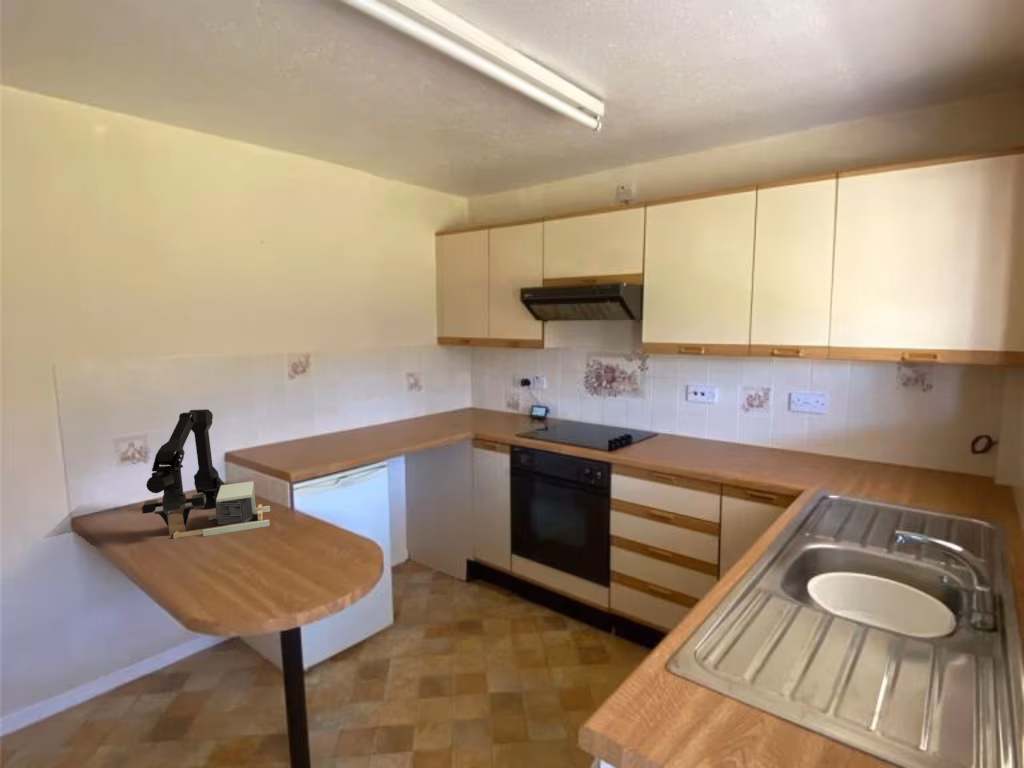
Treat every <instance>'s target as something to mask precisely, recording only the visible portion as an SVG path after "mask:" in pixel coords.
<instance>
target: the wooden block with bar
mask: <svg viewBox="0 0 1024 768" xmlns="http://www.w3.org/2000/svg"><path fill="white" fill-rule="evenodd" d="M257 507H258V513H257V520H253V521H251V522H257V521H263V517H264V516H263V515H264V512H263V511H262V507H263V504H262V503H260V504H257ZM244 523H250V522H244ZM244 523H238V524H244ZM168 525H169V528H168V533H169V536H173V537H172V538H173V539H178V538H185V537H191V536H196V535H197V536H198V535H203V530H205V529H211V528H218V527H224V526H213V527H206V528H201V529H200V528H199V529H193V530H187V525H186V526H185V524H184V509H181V510H180V509H179V510H172V511H169V512H168ZM231 525H237V524H231ZM231 525H225V526H231Z"/></svg>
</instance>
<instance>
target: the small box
mask: <svg viewBox="0 0 1024 768" xmlns="http://www.w3.org/2000/svg"><path fill="white" fill-rule="evenodd" d="M216 499H217V498H215V504H216V507H215V513H216V515H217V519H216V525H217V526H216V527H218V526H225V525H231V524H238V523H244V522H251V521H254V514H252V503H251V497H250V498H242V499H235V500H228V501H221V502H217V501H216Z"/></svg>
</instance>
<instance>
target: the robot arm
mask: <svg viewBox="0 0 1024 768" xmlns="http://www.w3.org/2000/svg"><path fill="white" fill-rule="evenodd" d="M213 415H214V414H213V412H212V411H210V409H209V408H208V409H205V408H204V409H190V410H189V411H187V412H181V413H179V416H178V421H177V423H176V425H175V427H174V429H173V431H172V433H171V435H170V437H169V439H168V441H166V442H165V443H163V444H162V445H161V447H160V448H159V449H158V451H157V452H156V454H155V457H154V461H153V465H152V467H151V472H152V473H151V477H149V478H148V480H147V482H146V488H147V490H148V491H149V492H150V493H152V494H160V493H161V492H163V496H162V501H159V500H158V499H153V500H146V501H145V502H144V503H143V504H142V507H141V510H142V511H141V512H142V514H151V513H154V514H155V515H159V517H161V518H162V519H163V520H164V523H165V524H166V526H167V528H168V529H169V525H168V514H169V512H171V511H179V510H180V507H181V506H184V508H183V510H184V524H185V526H186V527H187V523H188V519H189V516H190V512H191V510H193V509H195V507H201V506H202V507H201V509H202V510H207V509H216V504H215V498H217V496H218V493H219V490H220V487H221V485H225V482H224V481H223V480H222V478H221V477H220V475H219V472H218V470H217V469H216V468H215V467H214V466H213V460H212V459H213V458H212V449H211V441H210V434H209V431H210V429H211V427H212V425H213V417H214V416H213ZM191 431H192V432H193V433H194V434H193V435H194V440H195V443H194V444H195V448H196V449H195V450H196V457H197V466H198V470H197V471H196V473H195V474H194V475H193V479H194V487H195V490H196V493H197V494H192V496H191V497H189V498H187V497H186V494H185V493H184V487H183V477H182V476H183V475H182V468H184V465H183V464H182V463H183V461H184V457H185V450H184V446H185V443H186V441H187V440H188V438H189V435H190V433H191Z"/></svg>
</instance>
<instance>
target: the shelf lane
mask: <svg viewBox="0 0 1024 768" xmlns="http://www.w3.org/2000/svg"><path fill="white" fill-rule="evenodd" d="M254 487H255V486H254V481H253V480H252V481H246V482H245V481H244V482H238V483H229V484H224V485H221V487H220V490H219V493H218V496H217V499H216V501H217V502H221V501H228V500H235V499H242V498H250V497H251V503H252V514H253V515H255V514H258V506H257V507H256V498H255V495H256V494H255V488H254ZM262 511H263V513H268V512H271V506H270V505H266V506H265V505H264V506H262ZM207 517H208V521H214V520H213V519H216V520H217V515H216V512H215V513H210V514H208V515H207ZM256 521H257V520H256ZM269 526H270V519H265V520H263V519H262V521H257V522H250V523H244V524H237V525H231V526H224V527H218V526H217V527H218V528H212V527H210V528H211V529H205V528H204V529H205V530H203V534H202V535H203V537H207V536H213V535H219V534H226V533H227V534H228V533H232V532H234V533H235V532H239V531H244V530H251V529H258V528H265V527H269Z"/></svg>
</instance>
